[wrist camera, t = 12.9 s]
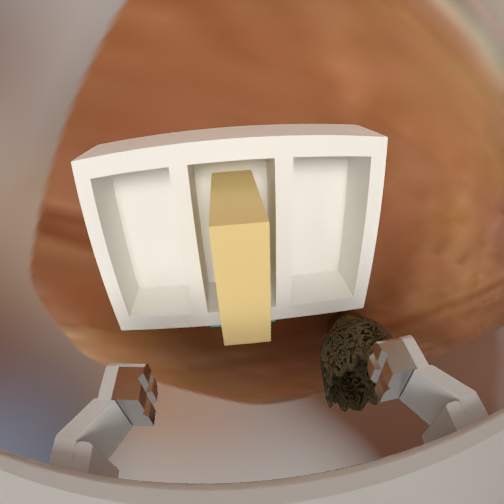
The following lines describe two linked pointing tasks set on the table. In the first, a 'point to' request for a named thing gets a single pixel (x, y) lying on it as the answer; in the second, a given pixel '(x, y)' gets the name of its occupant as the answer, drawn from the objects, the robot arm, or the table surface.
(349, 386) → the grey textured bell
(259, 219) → the panel
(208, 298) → the rack
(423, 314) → the table surface
